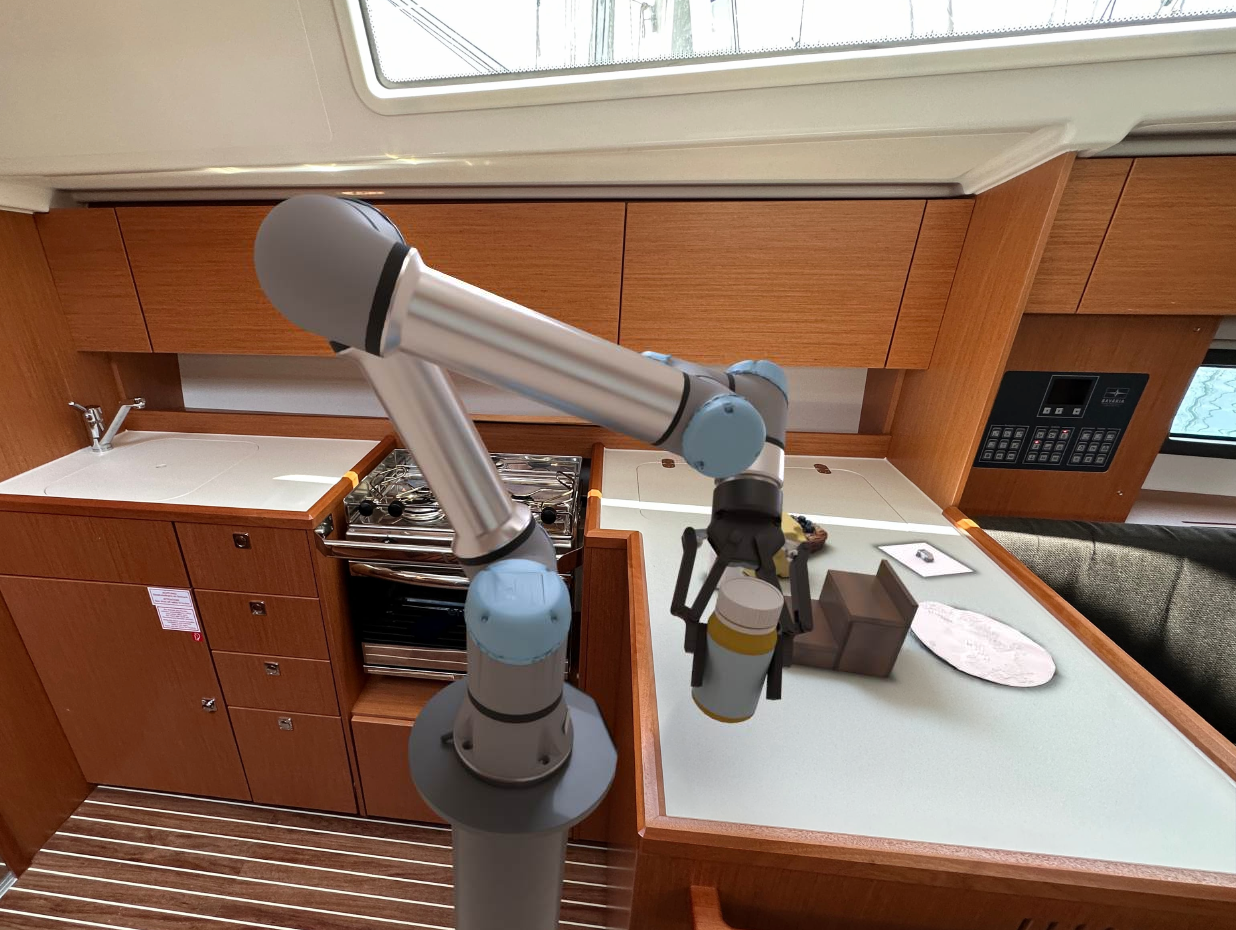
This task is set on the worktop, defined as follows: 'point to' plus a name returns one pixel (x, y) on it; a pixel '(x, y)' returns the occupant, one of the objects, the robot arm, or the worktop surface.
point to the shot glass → (728, 571)
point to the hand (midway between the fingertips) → (734, 692)
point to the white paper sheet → (925, 559)
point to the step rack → (857, 622)
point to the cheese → (782, 564)
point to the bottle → (738, 648)
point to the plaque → (982, 646)
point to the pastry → (812, 533)
